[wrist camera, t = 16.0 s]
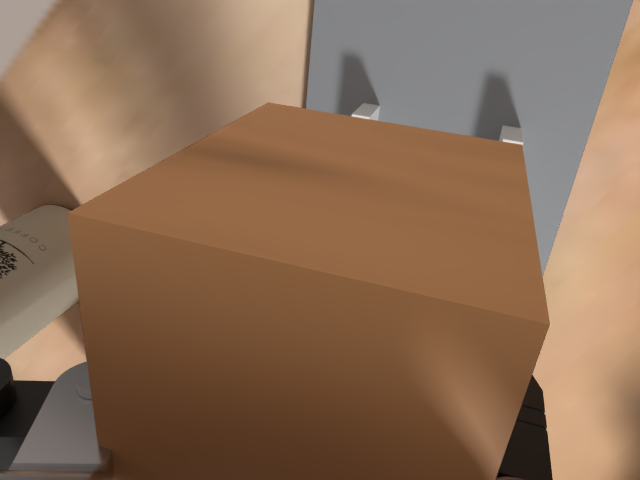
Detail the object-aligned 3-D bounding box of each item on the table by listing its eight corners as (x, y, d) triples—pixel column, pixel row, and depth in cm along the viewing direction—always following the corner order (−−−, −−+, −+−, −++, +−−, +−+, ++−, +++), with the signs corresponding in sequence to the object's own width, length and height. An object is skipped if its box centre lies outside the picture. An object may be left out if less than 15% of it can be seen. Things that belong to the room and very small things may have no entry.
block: (454, 391, 13) (426, 674, 8) (256, 338, 14) (112, 556, 9) (522, 145, 10) (550, 324, 5) (267, 102, 11) (67, 212, 6)
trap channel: (516, 345, 37) (517, 385, 34) (295, 292, 41) (276, 323, 37) (635, -25, 27) (657, -25, 23) (325, -56, 30) (301, -60, 27)
